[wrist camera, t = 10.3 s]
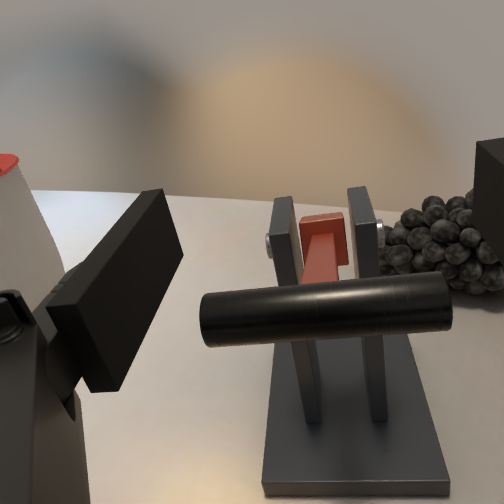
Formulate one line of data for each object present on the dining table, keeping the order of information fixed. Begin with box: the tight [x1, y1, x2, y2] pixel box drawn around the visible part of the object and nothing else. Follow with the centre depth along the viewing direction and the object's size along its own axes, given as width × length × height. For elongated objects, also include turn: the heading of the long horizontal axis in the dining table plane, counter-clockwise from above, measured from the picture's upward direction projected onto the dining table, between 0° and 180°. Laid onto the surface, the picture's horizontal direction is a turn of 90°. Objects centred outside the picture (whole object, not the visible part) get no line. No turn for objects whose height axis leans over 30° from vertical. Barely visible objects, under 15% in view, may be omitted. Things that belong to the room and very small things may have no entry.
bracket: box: [261, 186, 450, 496], centre depth 25 cm, size 12×10×15 cm
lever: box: [199, 212, 453, 348], centre depth 17 cm, size 14×6×2 cm, turn 174°
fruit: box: [378, 189, 504, 295], centre depth 37 cm, size 9×8×15 cm
